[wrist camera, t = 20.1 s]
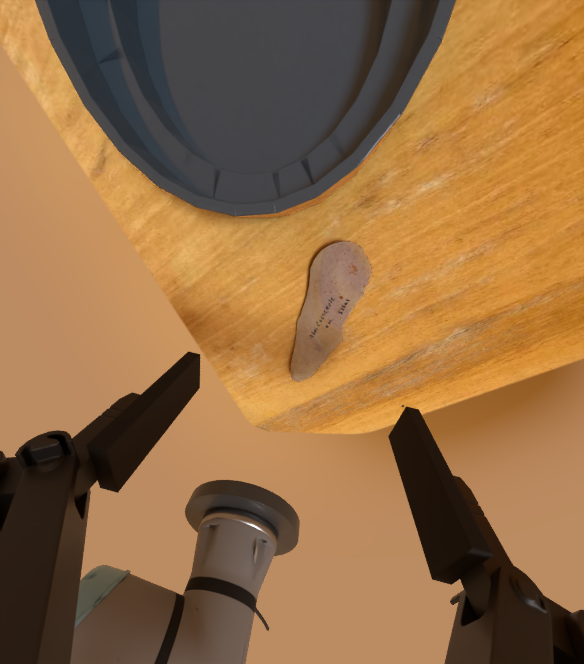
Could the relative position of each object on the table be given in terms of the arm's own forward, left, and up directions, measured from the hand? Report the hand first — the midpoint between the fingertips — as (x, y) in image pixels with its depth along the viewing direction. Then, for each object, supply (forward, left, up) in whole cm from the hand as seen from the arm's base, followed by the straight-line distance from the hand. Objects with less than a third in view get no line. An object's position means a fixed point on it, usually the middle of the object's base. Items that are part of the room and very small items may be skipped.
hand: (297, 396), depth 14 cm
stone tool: (+2, -1, -10) cm, 10 cm away
